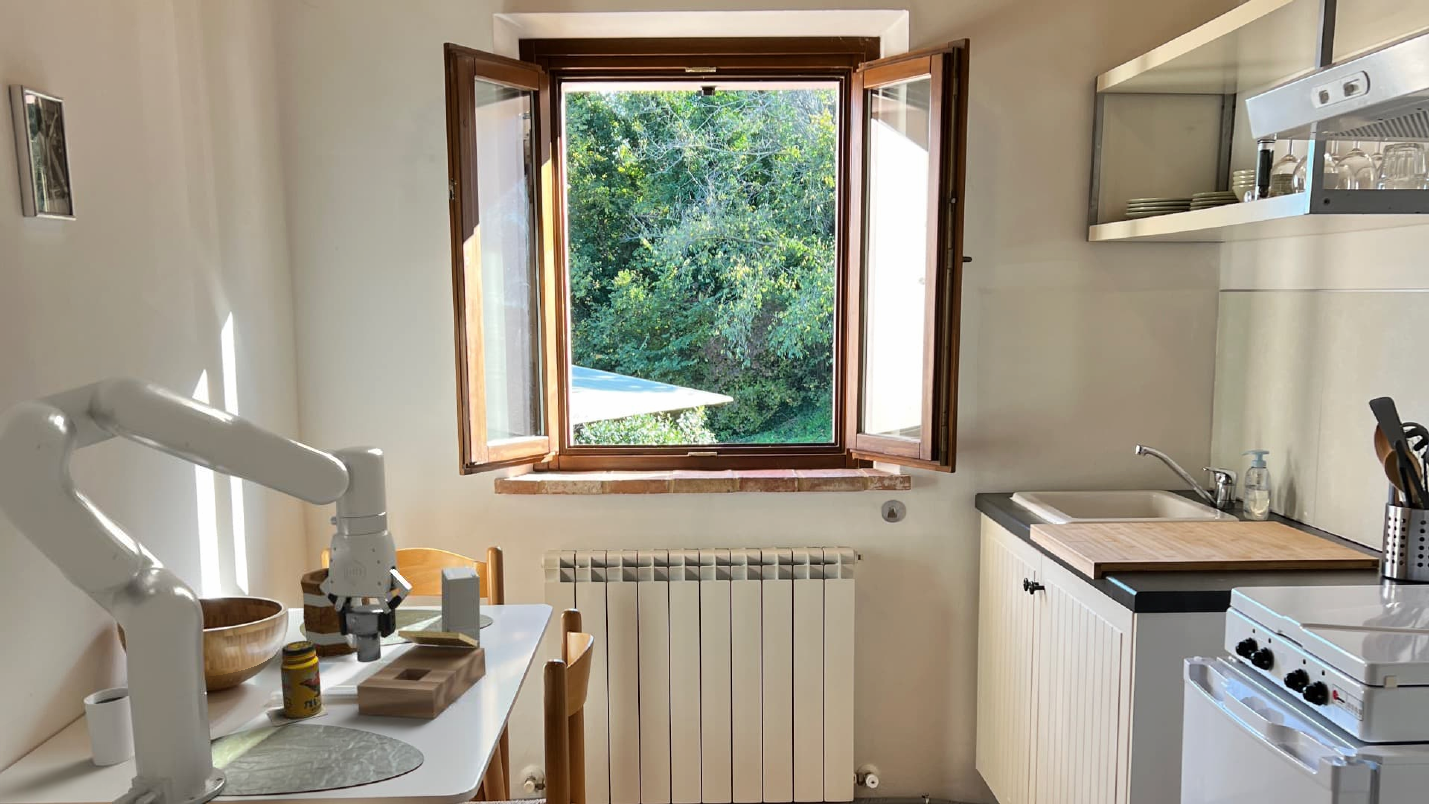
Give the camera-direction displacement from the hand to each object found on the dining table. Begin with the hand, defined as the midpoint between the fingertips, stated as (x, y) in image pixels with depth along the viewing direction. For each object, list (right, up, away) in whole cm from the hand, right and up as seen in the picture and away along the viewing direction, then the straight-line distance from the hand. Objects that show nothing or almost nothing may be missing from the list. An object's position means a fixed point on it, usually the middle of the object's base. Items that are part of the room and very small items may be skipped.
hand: (367, 633), depth 157 cm
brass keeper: (+5, -7, +23) cm, 24 cm away
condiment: (-16, -17, +10) cm, 25 cm away
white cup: (-38, -19, -4) cm, 43 cm away
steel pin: (0, -4, 0) cm, 4 cm away
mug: (-20, -13, +42) cm, 48 cm away
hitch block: (+4, -15, +17) cm, 23 cm away
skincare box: (+5, -13, +41) cm, 43 cm away
